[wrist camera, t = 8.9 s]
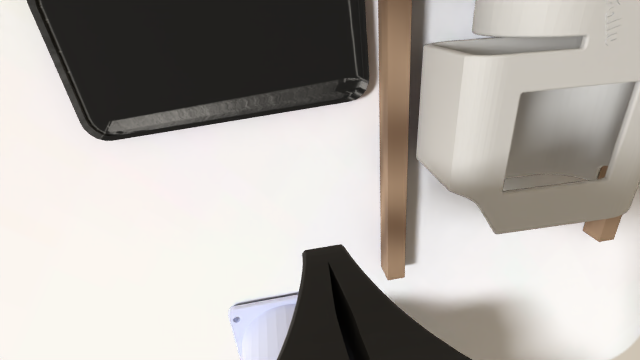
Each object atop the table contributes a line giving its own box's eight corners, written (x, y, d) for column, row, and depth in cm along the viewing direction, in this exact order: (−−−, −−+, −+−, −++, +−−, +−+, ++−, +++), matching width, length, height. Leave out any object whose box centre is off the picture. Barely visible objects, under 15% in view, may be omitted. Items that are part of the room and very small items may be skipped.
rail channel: (596, 228, 28) (645, 260, 25) (381, 266, 26) (400, 307, 23) (701, -110, 19) (806, -137, 15) (377, -87, 17) (409, -112, 13)
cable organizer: (488, -39, 13) (452, 242, 18) (790, -56, 14) (673, 211, 19) (415, -25, 19) (404, 183, 24) (632, -38, 20) (576, 162, 25)
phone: (370, 98, 20) (89, 144, 19) (364, 93, 21) (97, 137, 20) (360, -73, 16) (12, -31, 15) (354, -69, 17) (27, -29, 16)
